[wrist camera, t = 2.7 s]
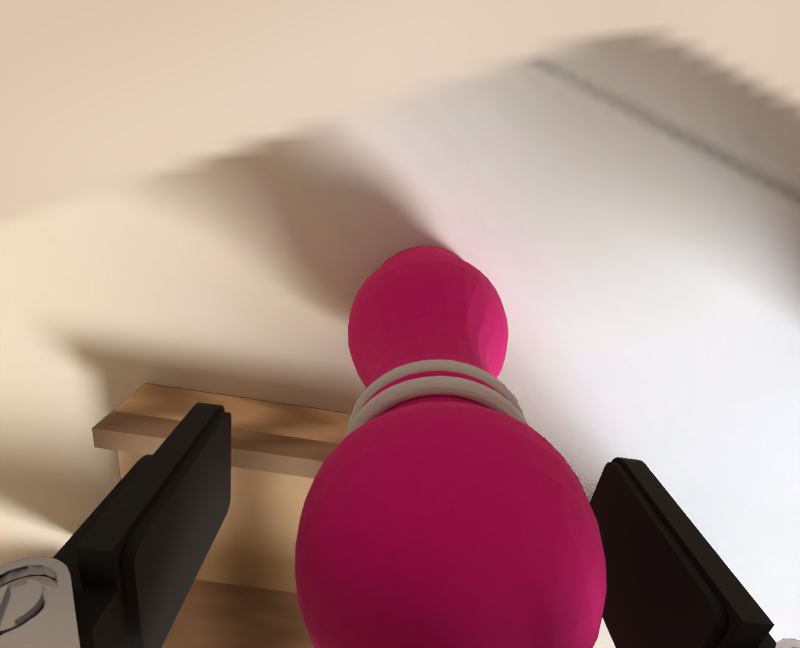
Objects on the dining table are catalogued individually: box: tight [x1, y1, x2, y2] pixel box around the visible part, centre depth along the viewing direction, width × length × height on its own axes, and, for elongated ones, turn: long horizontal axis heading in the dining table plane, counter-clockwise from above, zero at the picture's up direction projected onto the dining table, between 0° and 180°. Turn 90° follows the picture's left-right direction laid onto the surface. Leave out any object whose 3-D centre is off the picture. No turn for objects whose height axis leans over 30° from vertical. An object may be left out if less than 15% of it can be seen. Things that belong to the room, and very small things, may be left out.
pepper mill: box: [295, 246, 607, 648], centre depth 14 cm, size 7×7×20 cm
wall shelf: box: [92, 384, 351, 648], centre depth 22 cm, size 26×14×14 cm, turn 81°
